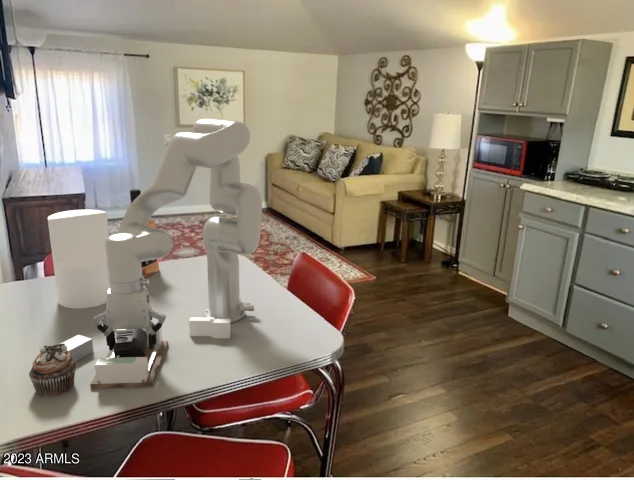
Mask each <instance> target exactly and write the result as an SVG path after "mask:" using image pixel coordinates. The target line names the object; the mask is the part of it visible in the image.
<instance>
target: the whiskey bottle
mask: <svg viewBox="0 0 634 480" xmlns="http://www.w3.org/2000/svg"><path fill="white" fill-rule="evenodd" d="M141 193H142V191H141V189H139V188H138V189H137V188H133V189H130V190H129V195H130V205H131V203H132V202H133V201H134V200H135V199H136V198H137V197H138V196H139V195H140V194H141ZM130 205H129V206H130ZM121 223H122V222H120V223H119V226H120V225H121ZM147 226H149V227H153V228H156V222H155V220H153V219H152V218H150V219H149V221H148V223H147ZM141 267H142V275H143V278H144V279H147V278H148V277H151V276H152V275H154V274H156V273H157V272H160V266H159V260H158V259H155V260H148V261H143V262H141Z"/></svg>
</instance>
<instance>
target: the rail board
mask: <svg viewBox="0 0 634 480" xmlns="http://www.w3.org/2000/svg"><path fill="white" fill-rule="evenodd" d="M116 343H117V341H116ZM168 346H169V340H162V343H161V345H160V347H159V350H158V352H157V355H156V357H155V360H154V362H153V365H152V367H151V370H150V372H149V376H148V378H147V381H146V382H143V383H109V384H97V379H96V374H95V376H94V377H93V379H92V380H91V382H90V385H89V387H90V389H117V388H118V389H119V388H122V389H123V388H146V387H147V388H148V387H149V388H151V387H154V384H155V383H156V379H157V376H158V373H159V371H160V368H161V366H162V363H163V360H164V357H165V355H166V352H167V348H168ZM154 349H155V346H154V347H153V349H149V347H146V356H145V357H147V360H148V363H149V361H150V358H151V356H152V353H153V351H154ZM113 352H114V349H113V350H109V351H108V353H107V354H106V355H105V358H110V357H111V356H112V354H113ZM115 358H118V355H117V356H116V357H115Z"/></svg>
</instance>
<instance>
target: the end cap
mask: <svg viewBox="0 0 634 480" xmlns="http://www.w3.org/2000/svg"><path fill="white" fill-rule="evenodd" d="M121 338H126V339H128V340H127V341H125V342H118V343H115V345H114V356H116V355H118V358H121V357H145V356H146V346H147V334H146V332H145V331H144V330H142V329H134V331H130V332H119V333H117V335H115V340H117V339H121Z"/></svg>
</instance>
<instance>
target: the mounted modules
mask: <svg viewBox="0 0 634 480" xmlns="http://www.w3.org/2000/svg"><path fill="white" fill-rule="evenodd" d="M154 324H155V325H156V324H157V323H154ZM142 330H144V331H145V332H146V334H147V346H146V347H149V338H148V335H149V332H148V331H147V330H146V329H145V328H143V329H142ZM162 330H163V329H162V327H161V328H160V329H159V330H158V331H157V332H156V338H157V343H156V344H160V345H161V343H162V341H163V331H162ZM130 331H134V329H115V336H117V333H119V332H130ZM127 340H128V339H126V338H121V339H116V342H117V343H118V342H125V341H127ZM156 344H154V346H156ZM94 368H95V369H94V370H95V375H96V379H97V381H101V384H109V383H142V380H143V381H144V382H146V381H147V378H148V376H149V373H148V360H147V357H121V358H106V357H99V358H98V359H97V361H96V363H95V364H94ZM97 383H98V382H97ZM98 384H100V383H98Z"/></svg>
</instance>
